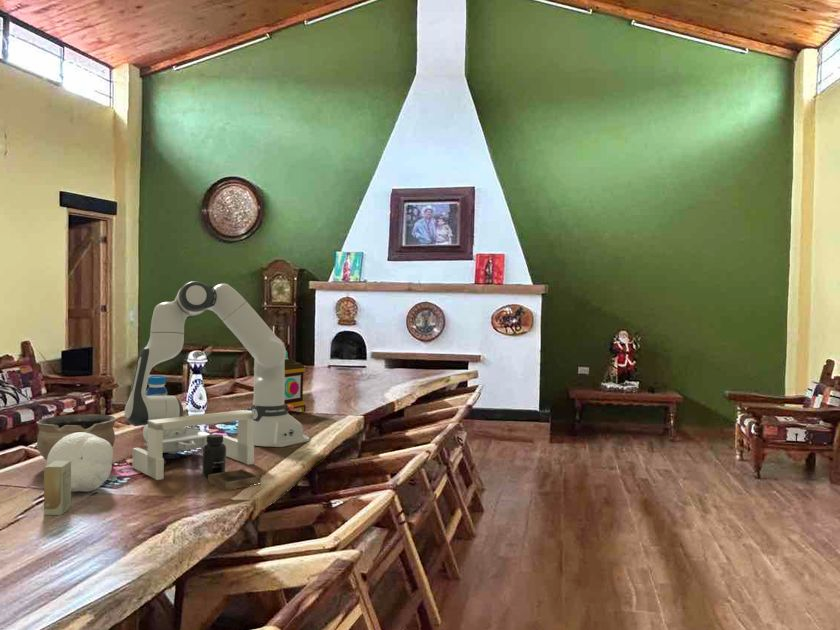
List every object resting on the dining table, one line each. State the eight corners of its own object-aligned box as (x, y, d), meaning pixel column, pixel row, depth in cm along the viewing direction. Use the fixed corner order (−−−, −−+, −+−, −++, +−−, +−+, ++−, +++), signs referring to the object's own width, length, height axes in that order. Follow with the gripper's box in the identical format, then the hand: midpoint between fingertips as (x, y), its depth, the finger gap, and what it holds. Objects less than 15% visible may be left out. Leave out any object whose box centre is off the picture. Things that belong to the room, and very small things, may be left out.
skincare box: (53, 507, 183) (54, 459, 182) (71, 507, 183) (72, 460, 183) (42, 515, 177) (43, 466, 176) (61, 515, 177) (61, 466, 176)
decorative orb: (70, 479, 209) (70, 424, 208) (130, 481, 208) (131, 427, 207) (30, 499, 189) (31, 439, 188) (97, 502, 188) (97, 441, 188)
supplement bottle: (218, 478, 214) (219, 438, 213) (197, 476, 216) (198, 437, 215) (229, 473, 221) (230, 434, 220) (209, 471, 222) (210, 432, 222)
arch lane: (226, 453, 246) (227, 405, 245) (253, 463, 233) (254, 413, 232) (132, 467, 224) (133, 414, 223) (156, 479, 211) (157, 424, 210)
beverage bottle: (171, 424, 291) (171, 375, 290) (161, 428, 282) (162, 378, 282) (151, 423, 292) (151, 374, 291) (140, 427, 283) (141, 377, 283)
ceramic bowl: (35, 479, 208) (35, 427, 207) (36, 461, 227) (36, 414, 227) (118, 471, 218) (118, 422, 218) (112, 455, 238) (112, 410, 237)
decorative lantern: (310, 412, 328) (311, 346, 327) (279, 418, 311) (281, 349, 310) (277, 407, 339) (279, 343, 337) (246, 413, 322) (247, 346, 321)
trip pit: (241, 476, 217) (241, 469, 217) (260, 484, 209) (260, 476, 209) (208, 482, 210) (208, 474, 210) (226, 490, 202) (226, 483, 202)
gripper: (141, 433, 232) (160, 441, 222) (200, 426, 246) (220, 433, 236) (141, 453, 233) (159, 461, 223) (200, 445, 247) (220, 452, 237)
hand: (191, 447), depth 230 cm, fingers closed
